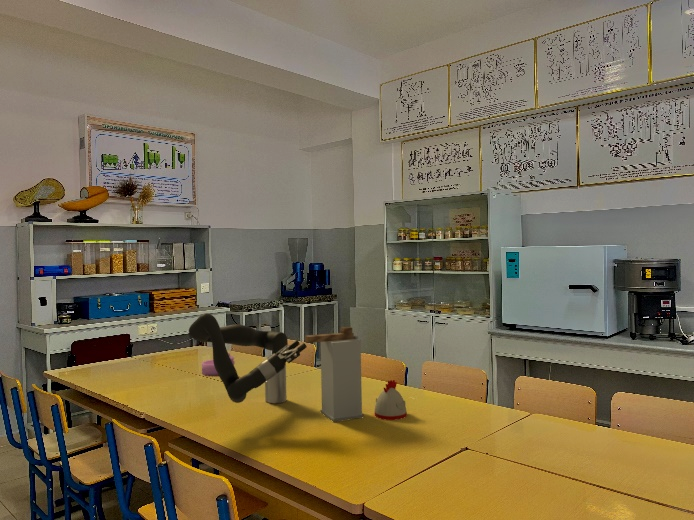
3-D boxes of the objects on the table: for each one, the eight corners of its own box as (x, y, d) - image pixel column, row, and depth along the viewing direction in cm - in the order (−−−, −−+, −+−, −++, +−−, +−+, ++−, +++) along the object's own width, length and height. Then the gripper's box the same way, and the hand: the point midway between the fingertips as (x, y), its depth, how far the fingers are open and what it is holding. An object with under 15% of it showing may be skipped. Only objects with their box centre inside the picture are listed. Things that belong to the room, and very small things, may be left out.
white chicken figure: (413, 414, 234) (412, 380, 233) (393, 422, 224) (392, 386, 223) (387, 408, 243) (387, 375, 243) (367, 415, 233) (367, 381, 233)
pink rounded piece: (197, 373, 323) (196, 351, 323) (218, 368, 334) (218, 347, 334) (221, 379, 306) (220, 356, 306) (243, 374, 317) (242, 352, 317)
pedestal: (333, 422, 225) (331, 340, 224) (320, 412, 238) (319, 335, 238) (363, 417, 230) (362, 337, 230) (349, 408, 244) (348, 333, 243)
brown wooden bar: (307, 342, 226) (307, 331, 226) (304, 341, 229) (304, 330, 229) (353, 338, 234) (353, 327, 234) (350, 337, 238) (349, 326, 238)
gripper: (270, 371, 228) (300, 348, 234) (280, 377, 215) (312, 353, 221) (261, 356, 227) (291, 334, 232) (270, 362, 214) (303, 338, 219)
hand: (301, 343), depth 226 cm, fingers open, 8 cm apart
